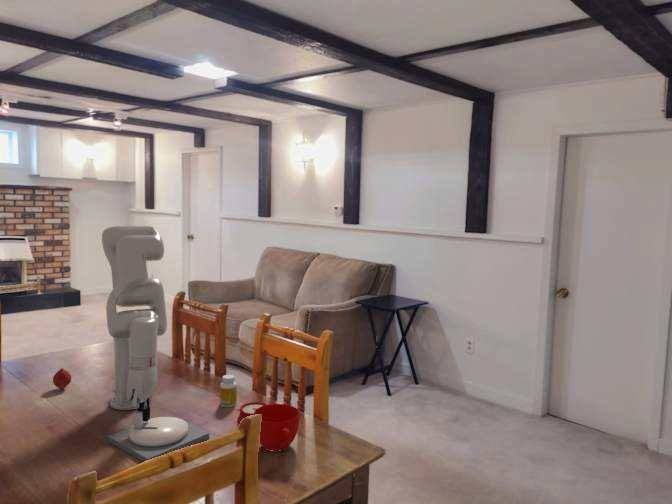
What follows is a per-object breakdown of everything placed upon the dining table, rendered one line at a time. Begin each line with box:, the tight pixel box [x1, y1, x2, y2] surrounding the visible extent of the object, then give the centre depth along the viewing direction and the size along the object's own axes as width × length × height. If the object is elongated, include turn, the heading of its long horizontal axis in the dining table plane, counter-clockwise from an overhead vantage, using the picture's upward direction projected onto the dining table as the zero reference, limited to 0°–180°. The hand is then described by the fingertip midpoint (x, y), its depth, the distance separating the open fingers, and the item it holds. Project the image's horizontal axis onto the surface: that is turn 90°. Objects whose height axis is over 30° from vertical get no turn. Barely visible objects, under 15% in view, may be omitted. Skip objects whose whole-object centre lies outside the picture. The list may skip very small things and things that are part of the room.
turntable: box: [129, 410, 188, 447], centre depth 151 cm, size 16×16×6 cm
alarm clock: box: [233, 401, 268, 424], centre depth 165 cm, size 10×6×15 cm
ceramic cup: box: [254, 403, 301, 451], centre depth 147 cm, size 13×17×10 cm
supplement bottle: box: [219, 374, 238, 408], centre depth 178 cm, size 5×5×10 cm
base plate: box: [107, 413, 210, 462], centre depth 151 cm, size 20×20×2 cm
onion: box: [52, 367, 72, 390], centre depth 187 cm, size 6×6×8 cm
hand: (143, 419), depth 155 cm, fingers closed
